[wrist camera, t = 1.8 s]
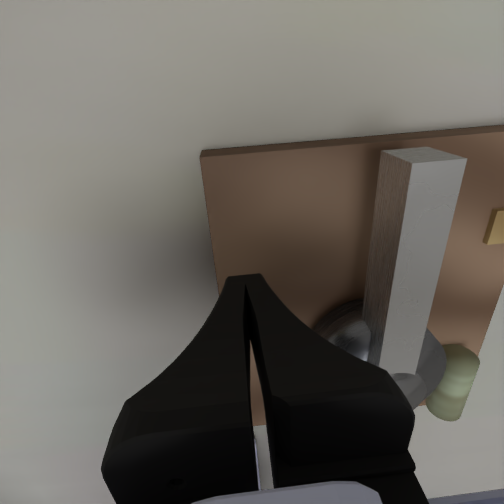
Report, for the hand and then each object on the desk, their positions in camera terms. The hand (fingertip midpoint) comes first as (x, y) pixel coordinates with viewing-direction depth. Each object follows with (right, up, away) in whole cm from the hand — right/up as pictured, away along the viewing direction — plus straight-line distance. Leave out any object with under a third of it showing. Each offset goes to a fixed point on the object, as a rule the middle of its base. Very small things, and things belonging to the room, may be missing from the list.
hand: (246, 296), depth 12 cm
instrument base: (+6, 0, +5) cm, 7 cm away
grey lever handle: (+6, 0, +3) cm, 6 cm away
